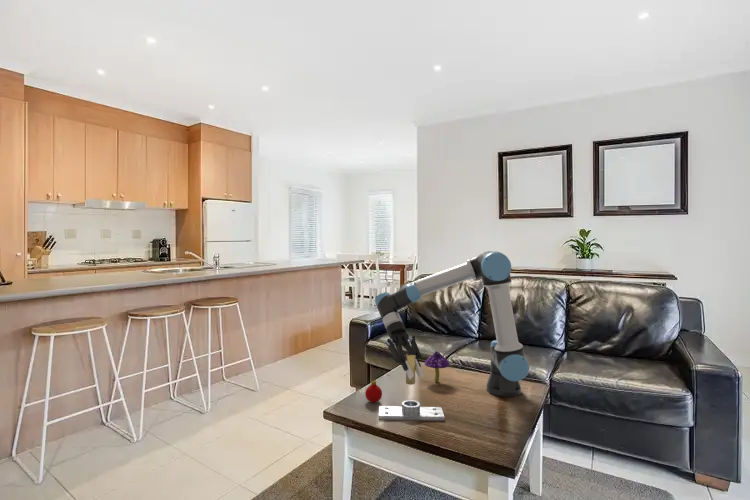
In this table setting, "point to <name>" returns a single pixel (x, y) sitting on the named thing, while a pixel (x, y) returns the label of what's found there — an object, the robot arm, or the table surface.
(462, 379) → the table surface
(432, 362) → the decorative mushroom
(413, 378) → the hinge pin
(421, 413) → the hinge leaves
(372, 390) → the christmas ornament
